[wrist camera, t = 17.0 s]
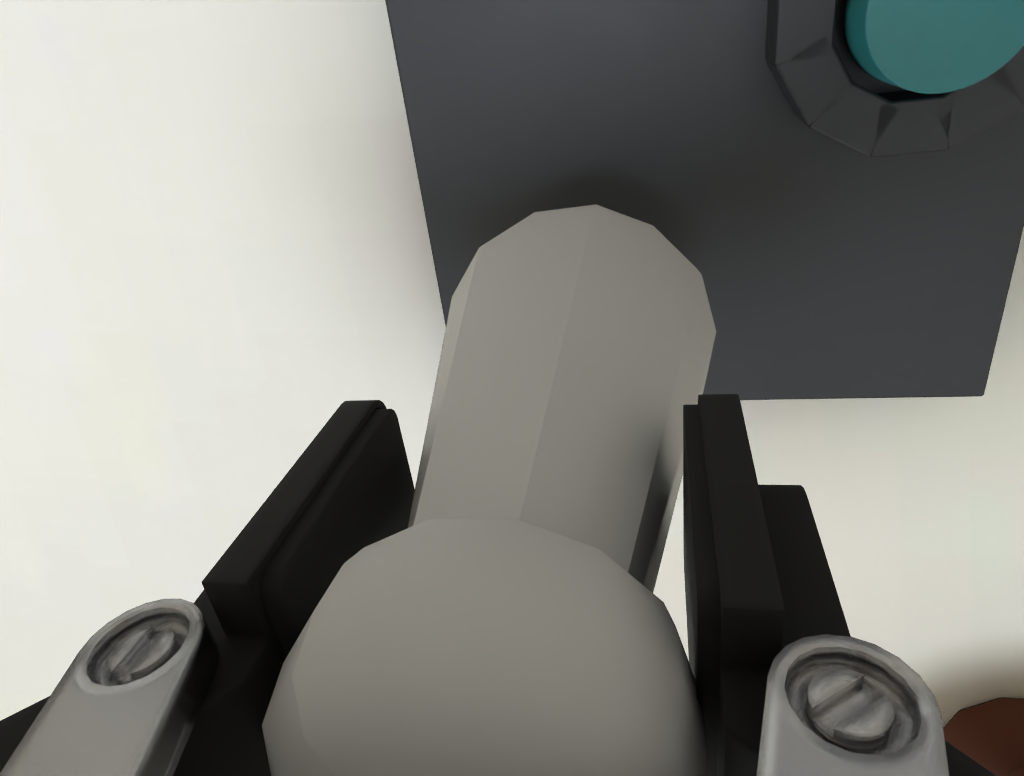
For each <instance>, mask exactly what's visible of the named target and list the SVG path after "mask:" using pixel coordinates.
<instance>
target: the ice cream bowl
mask: <svg viewBox="0 0 1024 776" xmlns="http://www.w3.org/2000/svg"><path fill="white" fill-rule="evenodd" d="M943 732H944V740H945V741H947V742H948V743H950V744H951V745H952V746H954V747H955V748H957V749H958V750H960V751H961V752H963V753H964V754H965V755H967V756H968V757H970V758H971V759H973V760H974V761H976V762H977V763H979V764H980V765H981V766H983V767H984V768H986V769H987V770H989V771H990V772H992V773H993V774H994V775H996V776H1024V699H1011V698H999V699H996V700H993V701H990V702H987V703H983V704H980V705H977V706H974V707H971V708H968V709H965V710H961V711H959V712H958V713H957V714H956V715H955V716H954V717H953V719H952V720H951V721H950V722H949V723H948V724H947V726H946V727H945V728H944V729H943Z"/></svg>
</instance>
